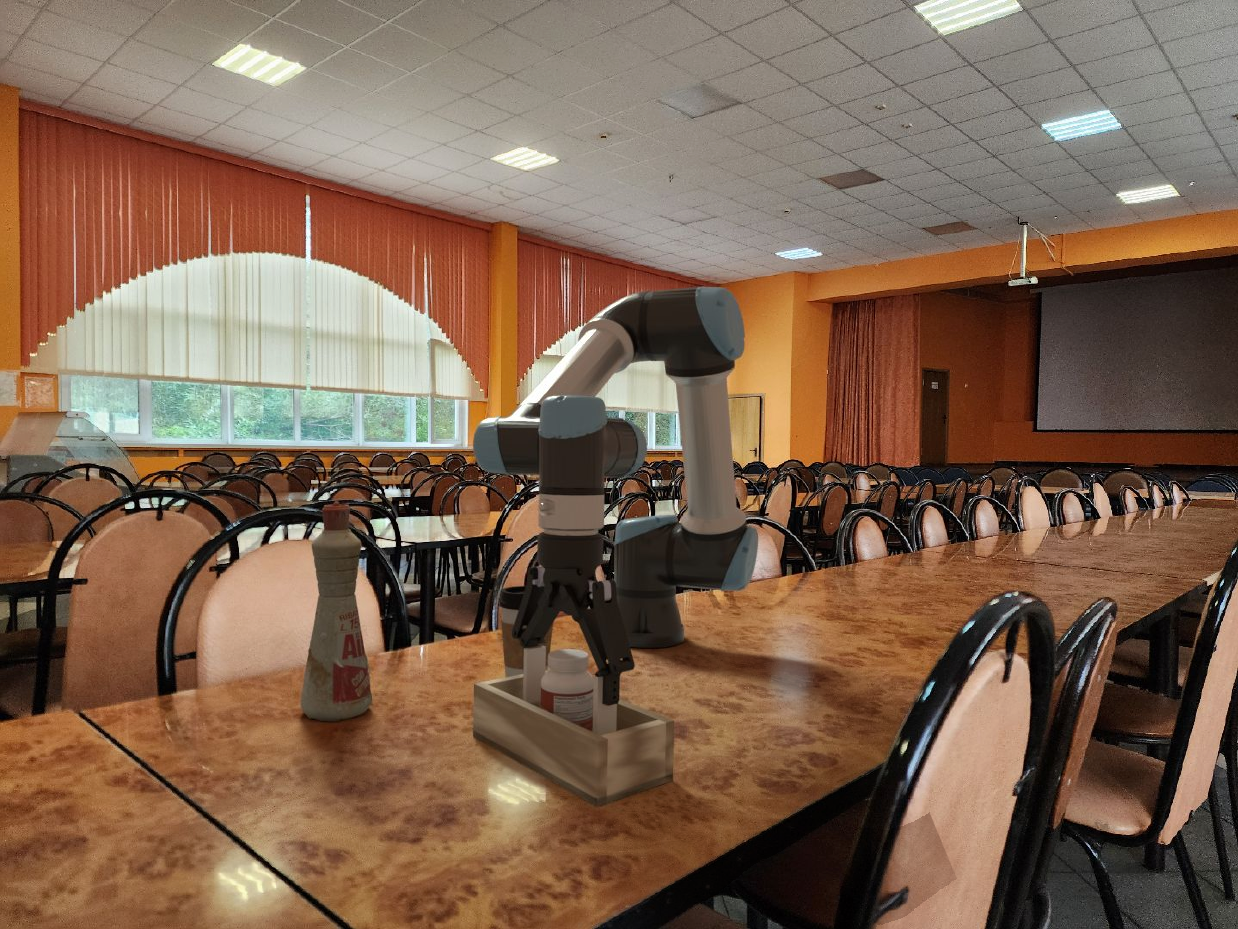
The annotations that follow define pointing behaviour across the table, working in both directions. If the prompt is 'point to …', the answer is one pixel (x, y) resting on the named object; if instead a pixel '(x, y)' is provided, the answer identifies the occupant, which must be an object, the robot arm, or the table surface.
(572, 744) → the wooden box
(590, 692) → the pill bottle
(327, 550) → the bottle
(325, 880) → the table surface
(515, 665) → the coffee cup
